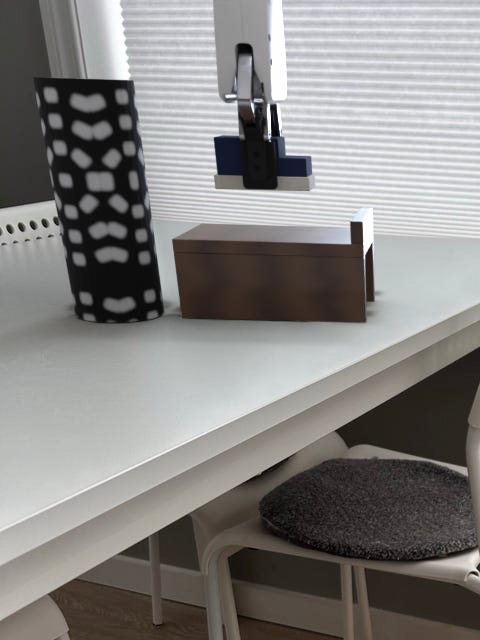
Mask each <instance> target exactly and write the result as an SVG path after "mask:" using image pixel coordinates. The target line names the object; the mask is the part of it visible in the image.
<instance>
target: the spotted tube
mask: <svg viewBox="0 0 480 640" xmlns="http://www.w3.org/2000/svg"><path fill="white" fill-rule="evenodd" d="M32 80H33V87H34V91H35V97H36V103H37V108H38V114H39V120H40V125H41V131H42V135H43V136H42V137H43V142H44V147H45V152H46V159H47V163H48V169H49V170H48V171H49V176H50V180H51V181H50V182H51V187H52V193H53V198H54V204H55V207H56V214H57V219H58V226H59V232H60V236H61V242H62V248H63V253H64V258H65V264H66V269H67V274H68V281H69V287H70V292H71V297H72V298H71V299H72V303H73V308H74V314H75V317H76V318H78V319H79V320H82V321H87V322H94V323H105V324H106V323H109V324H110V323H111V324H113V323H115V324H117V323H133V322H134V323H135V322H143V321H148V320H152V319H156V318H159V317H162V316H163V315H164V314H165V306H164V297H163V290H162V282H161V275H160V267H159V260H158V252H157V244H156V237H155V231H154V223H153V215H152V208H151V201H150V194H149V193H150V192H149V186H148V178H147V171H146V170H147V169H146V163H145V156H144V147H143V142H142V133H141V126H140V119H139V109H138V103H137V96H136V88H135V80H134V79H113V78H112V79H111V78H110V79H109V78H84V77H83V78H81V77H79V78H78V77H51V76H49V77H47V76H45V77H44V76H32Z"/></svg>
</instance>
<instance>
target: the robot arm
mask: <svg viewBox="0 0 480 640" xmlns="http://www.w3.org/2000/svg"><path fill="white" fill-rule="evenodd" d="M212 5H213V6H212V7H213V8H212V9H213V30H214V44H215V45H214V46H215V60H216V61H215V62H216V77H217V89H218V91H217V92H218V96H219V98H220V100H221V101H222V102H223V103H225V104H237V120H238V121H237V122H238V136H239V138H240V141H239V145H240V156H241V167H242V178H243V186H244V187H245V188H246V189H266V190H265V191H274V189H276V188H277V187H278V179H277V166H276V153H275V142H271V136H273V137H283V127H282V118H281V108H280V105H281V103H283V102H284V101H285V100H286V99H287V95H288V91H287V90H288V81H287V79H288V78H287V77H288V76H287V62H286V61H287V59H286V58H287V57H286V42H285V30H284V18H283V5H282V0H212Z"/></svg>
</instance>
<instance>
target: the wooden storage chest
mask: <svg viewBox="0 0 480 640" xmlns="http://www.w3.org/2000/svg"><path fill="white" fill-rule="evenodd" d="M373 209H374V208H373V207H366V206H365V207H363V206H362V207H360V209H359V210H358V211H357V212H356V214H355V215H354V216H353V217H352V218H351V220H349V227H342V226H341V227H337V226H307V225H306V226H304V225H302V226H301V225H272V224H271V225H270V224H268V225H267V224H266V225H265V224H235V223H234V224H233V223H230V224H229V223H200V224H198V225H196V226H194V227H192V228H191V229H189V230H187V231H185V232H183V233H181V234H179V235H178V236H175V237H174V238H172V239H171V243H172V251H173V258H174V267H175V274H176V282H177V291H178V300H179V306H180V314H181V318H182V319H202V320H203V319H204V320H209V319H210V320H243V321H244V320H245V321H281V322H282V321H283V322H286V321H287V322H317V323H318V322H319V323H321V322H323V323H324V322H325V323H359V324H361V323H363V324H364V323H365V324H366V323H367V321H368V314H367V313H368V311H367V302H375V300H376V287H375V286H376V284H375V283H376V281H375V253H374V252H375V246H374V245H375V244H374V214H373V213H374V211H373Z"/></svg>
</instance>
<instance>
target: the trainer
mask: <svg viewBox="0 0 480 640" xmlns="http://www.w3.org/2000/svg"><path fill="white" fill-rule="evenodd" d="M239 141H240V138H239V135H229V134H227V135H225V134H223V135H222V134H221V135H217V136H214V137H213V145H214V154H215V155H214V157H215V165H216V173H217V174H214V175H213V178H214V179H213V180H214V188H215V190H232V191H234V190H235V191H236V190H238V191H267V190H266V189H246V188H245V187H244V186H243V178H242V167H241V156H240V145H239ZM271 142H275V153H276V166H277V179H278V187H277V188H276V189H274V190H273V191H274V192H275V191H277V192H279V191H280V192H282V191H283V192H311V191H312V190H314V189H315V188H316V174H315V173H313V164H312V163H313V161H312V156H311V155H289V154H286V153H287V151H286V139H285V136H282V137H273V136H271Z"/></svg>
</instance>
